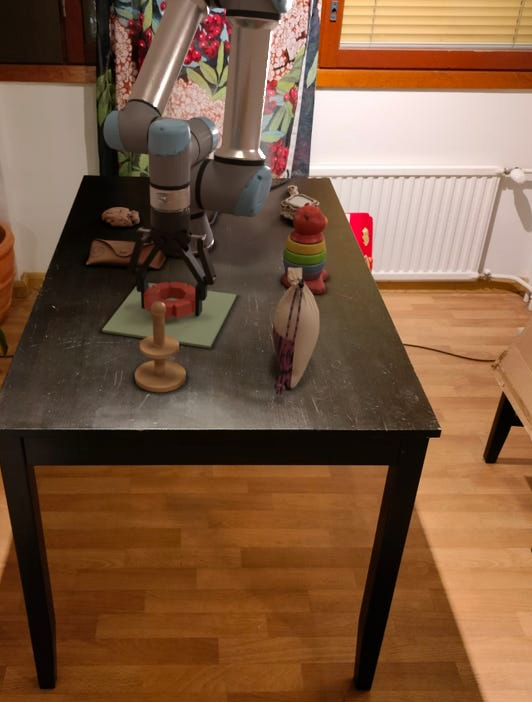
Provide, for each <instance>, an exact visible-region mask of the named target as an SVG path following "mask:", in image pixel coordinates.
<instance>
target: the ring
mask: <svg viewBox="0 0 532 702" xmlns="http://www.w3.org/2000/svg"><path fill="white" fill-rule="evenodd" d="M154 284H155V285H152V287H149V288H148V289H147V290H146V292H145V293H144V308H145V309H146V310H147V311H148V312H149V313H151V310H150V309H151V305H152V304H153V303H154V302H156V301H160V302H162V303H164V304H165V306H166V312H165V314H164V318H171V319H172V317H173V316H175V317H176V318H180V317H183V316H187V315H191V314H192V312H195V287H194V286H193V285H192V284H189V285H188V283H186V282H180V281H179V282H178V281H171V282H170V283H169V282H168V281H165V282H160V283H154ZM169 298H174V299H178V300H174V301H171V300H165V299H169ZM151 314H152V313H151Z"/></svg>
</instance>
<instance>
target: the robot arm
mask: <svg viewBox="0 0 532 702" xmlns="http://www.w3.org/2000/svg"><path fill="white" fill-rule="evenodd" d="M293 2H294V0H164V3H165V9H164V11H163V13H162V16H161V18H160V21H159V24H158V26H157V28H156V31H155V33H154V35H153V37H152V40H151V43H150V45H149V48H148V50H147V52H146V55H145V58H144V59H143V62H142V65H141V68H140V70H139V72H138V75H137V77H136V79H135V82H134V84H133V86H132V89H131V92H130V94H129V97H128V99H127V101H126V103H125V106H124V108H123V110H121V109H119V110H112V111H110V113H108V114H107V116H106V118H105V120H104V124H103V137H104V141H105V143H106V145H107V146H108V147H109V148H110V149H112V150H116V151H120V152H124V153H127V154H129V153H132V154H140V155H147V156H148V167H149V169H148V170H149V200H150V201H149V204H150V206H151V207H150V209H149V210H150V211H149V212H150V229H149V228H148V229H147V228H145V227H144V226H139V228H138V229H137V230H136V231H135V233H134V237H135V241H134V242H135V246H134V249H133V252H132V255H131V258H130V261H129V265H128V268H126V274H127V275H129V276H134V277H135V285H136V286H135V287H136V289H137V292H141V307H142V308H143V309H145V308H144V293H145V292H146V290H147V289H148V288H149V283H150V281H149V274H146V272H147V270H148V269H147V268H148V267H149V265H150V264H151V262H152V261H153V259H154V258H155V257H156V255H157V254H158V252H159V251H161V252H162V253H166V256H168V257H173V258H180V259H181V260H183V261H184V263H185V265H186V266H187V269H188V270H189V272H190V273H191V275H192V276H193V278H194V279H195V281H196V283H197V284H196V285H195V287H194V288H195V316H199V315H200V313H201V312H202V301H205V299H206V297H207V291H208V286H214V284H215V283H216V281H217V279H218V276H217V273H216V270H215V267H214V264H213V261H212V258H211V255H210V251H211V250H212V249H213V247H214V234H213V231H212V229H211V226H212V225H213V224H214V222H215V221H216V218H217V216H218V214H219V213H220V214H226V215H231V216H235V217H245V218H253V217H256V216H257V215H258V214H259V213H260V212H261V211H262V210H263V208H264V206H265V204H266V203H267V200H268V197H269V194H270V191H271V190H272V189H275V188H277V187H278V186H279V187H280V186H281V185H283V184H285V183H287V182H288V181H289V179H290V176H291V175H290V173H291V172H290V170H289V168H287V169H286V178H284V180H282V181H280V182H277V183H275V184H274V185H273V184H272V181H273V176H272V175H273V172H272V171H273V170H272V169H271V167H269V166H267V165H265V163H266V155H264V153H263V152H262V150H261V139H262V131H263V130H262V129H263V121H264V120H263V119H264V111H265V109H264V108H265V103H266V95H267V83H268V74H269V64H270V56H271V46H272V37H273V32H274V30H275V29H276V28H278V26H279V25H280V24H281V22H282V15H283V14H284V15H286V14H287V13H289V12H290V10H291V9H292V6H293V4H292V3H293ZM214 9H223V10H225V20H226V21H227V22H228V24H229V26H230V27H231V30H230V31H231V32H230V43H229V52H228V53H229V54H228V67H227V75H226V87H225V88H226V89H225V98H224V99H225V101H224V109H223V123H222V133H221V134H222V135H221V144H220V146H219V143H220V132H219V129H218V126H217V125H216V123H215V122H214V121H212V120H211V119H210V118H209V117H206V116H202V115H201V116H194V117H191V118H190V119H184V118H174V117H166V116H163V115H164V113H165V110H166V108H167V106H168V104H169V101H170V98H171V96H172V93H173V91H174V88H175V85H176V83H177V80H178V78H179V76H180V73H181V70H182V68H183V66H184V63H185V60H186V59H187V56H188V53H189V50H190V48H191V45H192V43H193V41H194V38H195V35H196V33H197V31H198V28H199V26H200V24H201V23H203V22H205V21H206V20H207V19H208V16H209V14H210V12H211V11H213V10H214ZM218 146H219V147H218ZM217 147H218V148H217ZM212 153H213V158H209V157H210V155H211V154H212ZM207 211H208V212H214V213H213V216H212V218H211V220H210V221H209V219H208V216H207ZM148 238H150V241H151V243H154V244H155V246H154V247H153V249H152V250H151V252H150V254H149V255H148V257H147V258H146V259H145V261H144V262H143V264H142V265H141V267H140V268H137V264H138V261H139V258H140V255H141V252H142V248H143V245H144V243H146V241H147V239H148ZM197 256H198V258H199V261H200V263H201V265H200V264H199V262H198V260H197V259H196V257H197Z"/></svg>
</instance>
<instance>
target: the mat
mask: <svg viewBox="0 0 532 702" xmlns="http://www.w3.org/2000/svg"><path fill="white" fill-rule="evenodd" d="M155 284H156V283H154V282H149V287H152V285H155ZM236 298H237V294H235V293H229V292H228V293H227V292H220V291H215V290H214V291H213V290H207V297H206V299H205V301H202V312H201V313H200V315H199V316H195V312H192V314H191V315H187V316H183V317H180V318H176V317H175V316H173V317H172V319H171V318H164V321H165V335H168V336H171V337H173V338H175V339H176V340H177V341H178V343H179V345H184V346H189V347H198V348H204V349H211V348H212V345H213V344H214V342H215V340H216V338H217V335H218V333H219V332H220V330H221V328H222V326H223V324H224V322H225V320H226V318H227V315H228V314H229V312H230V310H231V308H232V306H233V304H234V302H235V300H236ZM165 300H171V301H174V300H178V299H174V298H169V299H165ZM101 332H102V333H104V334H112V335H119V336H124V337H131V338H138V339H145V338H146V337H149V336H152V335H153V316H152V314H151V313H149V312H148V311H147V310H146V309H143V308H142V307H141V292H137V289H136V286H135V287H134V288H133V289H132V291H131V292H130V293H129V294H128V296H127V297H126V298H125V299H124V300H123V302H122V303H121V305H119V307H118V308H117V309H116V311H115V312H114V314H113V315H112V316H111V318H110V319H109V320H108V321H107V322H106V324H105V325H104V327H102V329H101Z"/></svg>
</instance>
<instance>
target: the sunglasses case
mask: <svg viewBox="0 0 532 702" xmlns="http://www.w3.org/2000/svg"><path fill="white" fill-rule="evenodd" d="M135 242H136V241H127V240H126V241H125V240H107V239H105V240H104V239H101V238H93V239H92V240H91V247H90V251H89V255H88V259H87V261H86V262H85V265H86V266H104V267H105V266H106V267H116V268H126V269H127V268H128V265H129V261H130V258H131V255H132V252H133V249H134V246H135ZM154 246H155V244H154V243H152V242H150V243H149V242H144V245H143V248H142V252H141V255H140V258H139V261H138V264H137V268H140V267H141V265H142V264H143V262H144V261H145V259H146V258H147V257H148V255H149V254H150V252H151V250H152V249H153V247H154ZM166 256H167V255H166V253H162V252H161V251H159V252H158V254H157V255H156V257H155V258H154V259H153V261H152V262H151V264H150V265H149V267H148V268H147V270H158V269H161V268H162V266H163V264H164V263H165V261H166Z"/></svg>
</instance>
